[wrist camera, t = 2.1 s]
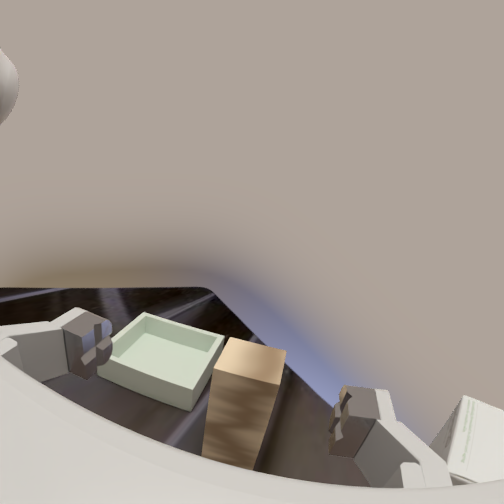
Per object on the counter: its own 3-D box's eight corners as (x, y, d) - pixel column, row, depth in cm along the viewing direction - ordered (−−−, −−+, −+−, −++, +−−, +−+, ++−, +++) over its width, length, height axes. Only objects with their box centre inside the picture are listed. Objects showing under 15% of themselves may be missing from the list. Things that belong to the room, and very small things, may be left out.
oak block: (200, 459, 26) (213, 368, 22) (215, 427, 30) (230, 337, 27) (251, 473, 25) (279, 384, 22) (260, 439, 30) (286, 350, 26)
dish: (97, 375, 34) (94, 352, 33) (143, 332, 46) (143, 312, 45) (190, 411, 32) (192, 389, 31) (221, 356, 44) (224, 336, 43)
